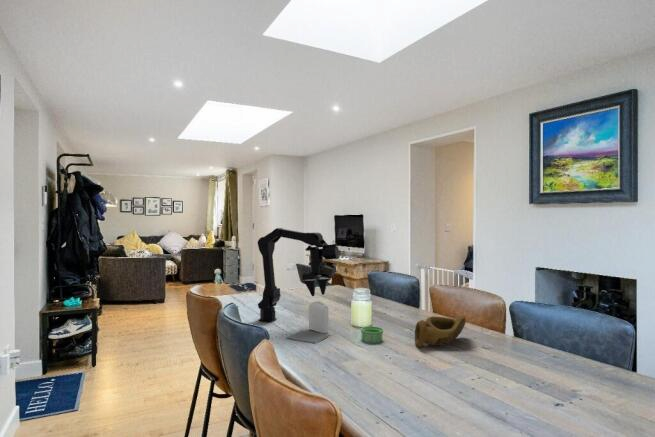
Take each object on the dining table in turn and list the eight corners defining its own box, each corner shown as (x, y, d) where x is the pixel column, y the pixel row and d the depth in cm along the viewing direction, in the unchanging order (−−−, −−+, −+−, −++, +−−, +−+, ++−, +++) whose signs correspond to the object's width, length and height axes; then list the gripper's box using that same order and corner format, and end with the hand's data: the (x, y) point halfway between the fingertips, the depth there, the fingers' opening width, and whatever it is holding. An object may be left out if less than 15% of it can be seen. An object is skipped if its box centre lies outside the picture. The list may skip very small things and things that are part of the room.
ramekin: (357, 341, 156) (357, 330, 156) (365, 335, 164) (365, 324, 164) (378, 344, 152) (378, 333, 152) (386, 338, 160) (386, 327, 160)
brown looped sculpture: (484, 332, 142) (424, 322, 143) (474, 362, 147) (416, 352, 147) (470, 306, 160) (416, 297, 160) (461, 333, 164) (409, 324, 164)
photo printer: (307, 329, 173) (307, 300, 173) (315, 327, 176) (315, 299, 176) (322, 334, 165) (322, 304, 165) (330, 332, 168) (330, 303, 168)
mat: (286, 338, 159) (286, 337, 159) (301, 331, 170) (301, 330, 170) (316, 343, 153) (316, 342, 153) (330, 335, 163) (330, 334, 163)
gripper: (322, 259, 167) (324, 296, 165) (341, 259, 184) (343, 293, 182) (300, 260, 172) (301, 297, 170) (320, 260, 189) (322, 293, 187)
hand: (318, 295), depth 177 cm, fingers open, 9 cm apart
